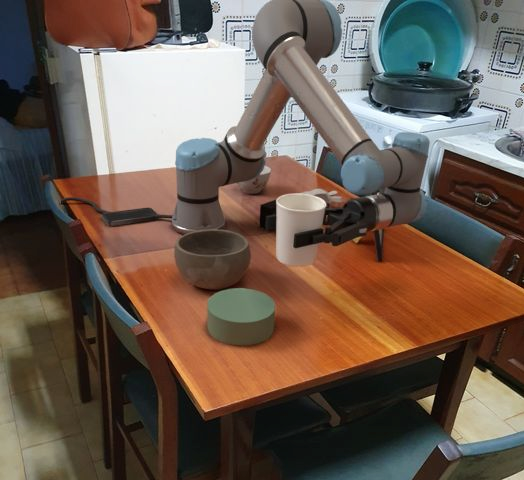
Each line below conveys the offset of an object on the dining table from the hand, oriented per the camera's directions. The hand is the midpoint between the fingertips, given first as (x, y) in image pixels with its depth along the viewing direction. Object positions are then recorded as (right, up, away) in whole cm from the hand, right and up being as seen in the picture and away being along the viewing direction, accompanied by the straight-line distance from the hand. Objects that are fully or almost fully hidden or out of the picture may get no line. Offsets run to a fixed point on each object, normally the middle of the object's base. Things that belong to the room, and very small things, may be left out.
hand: (280, 231), depth 107 cm
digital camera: (+1, +14, +55) cm, 56 cm away
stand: (-8, -18, +7) cm, 21 cm away
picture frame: (+26, +7, +48) cm, 55 cm away
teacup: (-8, +31, +80) cm, 86 cm away
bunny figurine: (+14, +23, +70) cm, 75 cm away
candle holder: (+3, -4, +6) cm, 8 cm away
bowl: (-16, -7, +24) cm, 30 cm away
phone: (-43, +15, +53) cm, 70 cm away
